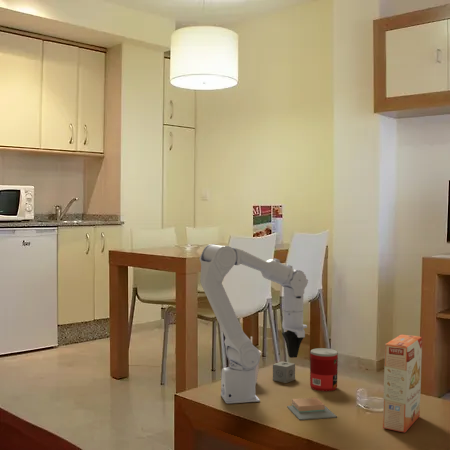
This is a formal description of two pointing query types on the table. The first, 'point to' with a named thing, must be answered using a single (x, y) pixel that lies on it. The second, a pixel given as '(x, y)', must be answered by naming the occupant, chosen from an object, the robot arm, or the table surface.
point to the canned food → (323, 369)
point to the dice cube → (284, 372)
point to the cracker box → (402, 382)
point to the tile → (308, 405)
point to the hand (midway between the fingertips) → (292, 357)
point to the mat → (312, 414)
